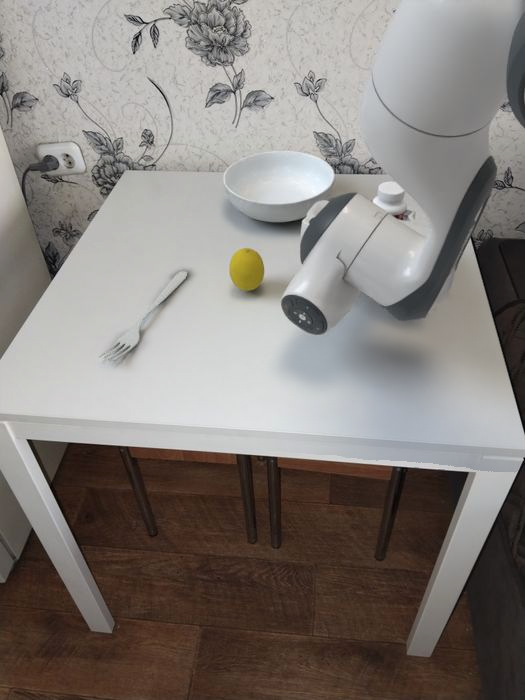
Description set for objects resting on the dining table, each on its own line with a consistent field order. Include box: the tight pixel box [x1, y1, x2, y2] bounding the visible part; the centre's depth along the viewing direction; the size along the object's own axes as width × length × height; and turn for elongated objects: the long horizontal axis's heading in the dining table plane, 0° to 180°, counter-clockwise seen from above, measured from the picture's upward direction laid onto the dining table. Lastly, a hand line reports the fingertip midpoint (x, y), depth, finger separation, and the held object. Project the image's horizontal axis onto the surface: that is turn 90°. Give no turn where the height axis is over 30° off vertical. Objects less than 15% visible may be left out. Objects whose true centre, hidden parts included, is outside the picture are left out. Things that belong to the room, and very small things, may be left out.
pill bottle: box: [372, 181, 408, 220], centre depth 93 cm, size 5×5×10 cm
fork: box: [98, 270, 188, 363], centre depth 92 cm, size 3×24×2 cm, turn 158°
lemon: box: [229, 247, 265, 291], centre depth 93 cm, size 6×6×8 cm
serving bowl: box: [222, 150, 336, 223], centre depth 112 cm, size 21×21×7 cm
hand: (390, 209), depth 93 cm, fingers closed on pill bottle, 5 cm apart
